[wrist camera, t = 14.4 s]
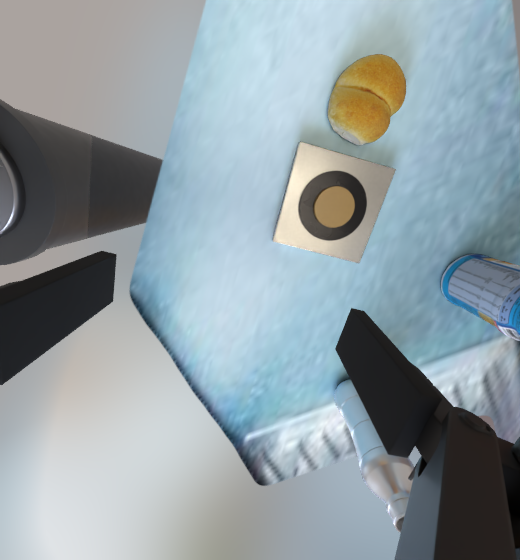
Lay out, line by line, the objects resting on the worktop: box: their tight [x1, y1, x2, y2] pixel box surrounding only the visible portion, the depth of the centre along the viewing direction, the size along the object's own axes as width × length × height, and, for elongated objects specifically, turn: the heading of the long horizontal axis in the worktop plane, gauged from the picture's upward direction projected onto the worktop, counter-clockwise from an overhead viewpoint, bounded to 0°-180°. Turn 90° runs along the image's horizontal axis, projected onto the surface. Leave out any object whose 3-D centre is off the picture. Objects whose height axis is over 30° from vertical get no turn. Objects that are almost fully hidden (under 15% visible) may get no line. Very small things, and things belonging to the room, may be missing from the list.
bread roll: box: [328, 54, 406, 145], centre depth 31 cm, size 8×9×4 cm
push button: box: [272, 142, 396, 263], centre depth 35 cm, size 13×13×3 cm
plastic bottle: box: [334, 379, 414, 532], centre depth 37 cm, size 6×7×20 cm
